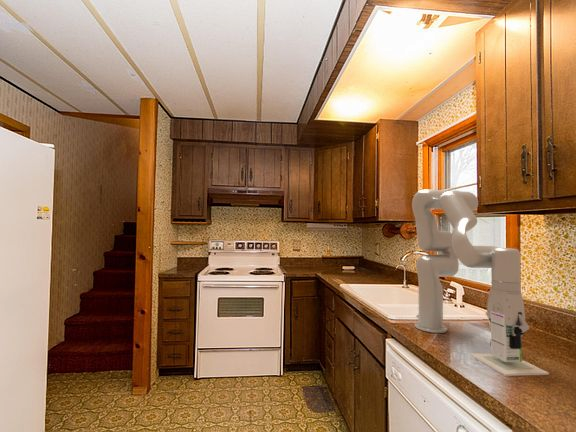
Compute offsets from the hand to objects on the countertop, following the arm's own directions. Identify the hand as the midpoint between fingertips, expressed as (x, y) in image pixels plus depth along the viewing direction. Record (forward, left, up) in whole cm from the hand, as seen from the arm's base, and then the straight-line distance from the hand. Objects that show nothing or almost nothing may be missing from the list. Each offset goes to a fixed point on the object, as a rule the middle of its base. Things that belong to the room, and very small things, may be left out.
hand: (506, 343), depth 94 cm
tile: (0, 0, -6) cm, 6 cm away
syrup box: (0, 0, -5) cm, 5 cm away
